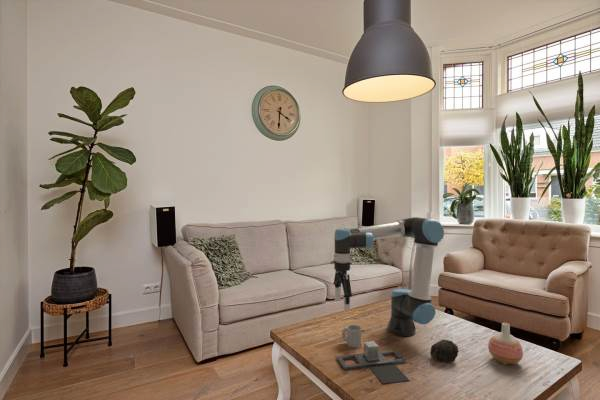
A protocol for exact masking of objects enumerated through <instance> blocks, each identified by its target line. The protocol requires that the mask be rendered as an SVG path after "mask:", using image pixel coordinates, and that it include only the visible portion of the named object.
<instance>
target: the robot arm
mask: <svg viewBox="0 0 600 400" xmlns="http://www.w3.org/2000/svg"><path fill="white" fill-rule="evenodd" d="M444 235H445V231H444V226H443V225H442V224H441V222H440V221H439V220H436V219H433V218H425V217H417V216H416V217H409V218H402V219H397V220H395V222H390V223H384V224H377V225H370V226H369V225H368V226H363V227H356V228H337V229H335V231H334V237H333V238H334V254H333V257H334V264H333V265H334V267H333V268H334V270H335V274H334V279H333V285H334V301H335V302H340V301H341V300H342V299H341V294H342V292H341V291H342V290H343V295H342V297H343V311H344V312H347V311H348V312H349V311H351V309H350V307H351V298H352V297H353V293H352V287H351V281H350V280H351V278H350V274H348V271H350V270H351V262H350V261H351V249H364V248H365V249H367V248H371V247H372V246H373V245H374V242H375V240H381V239H387V238H395V237H398V238H412V239H414V240H413V244H415V246H416V248H415V258H414V267H413V276H412V277H413V278H412V284H411V285H412V287H411V289H408V288H398V289H397V288H396V289H393V290H391V296H390V318H389V321H388V323H387V331H389V332H390V333H391V334H394V335H396V336H401V337H410V336H414V335H415V334H416V333H417V331H416V330H417V329H416V328H417V327H416V325H415V323H418V324H419V325H428V324H430V322H431V321H433V320H434V318H435V315H436V308H435V306H434V304H432V300H433V298H432V296H431V295H430V290H431V289H430V288H431V280H432V272H433V271H432V269H433V264H434V263H433V260H434V253H435V251H434V250H435V249H436V248H437V247H438V245H439V244H438V243H440V242H441V241H442V240H443V238H444ZM341 288H342V289H341Z"/></svg>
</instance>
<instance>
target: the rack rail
mask: <svg viewBox="0 0 600 400" xmlns="http://www.w3.org/2000/svg"><path fill="white" fill-rule="evenodd" d="M391 355H393V356H394V357H395V358H396V359H387V358H386V357H385V356H391ZM345 360H346V361H347V360H348V361H349V360H355V362H356V363H352V364H346V362H345ZM336 361H338V363H339V365H340V366H341V368H342V369H343V371H349V370H359V369H366V368H371V367H380V366H388V365H401V364H406V363H407V360H406V359H405V358H404V357H403V356H402V355H401V354H400V353H399V352H398V351H397V350H396V349H392V350H391V349H390V350H382V351H378V361H377V362H368V363H367V362H366V360H365V359H364V352H363V353H362V352H361V353H354V354H346V355H336Z"/></svg>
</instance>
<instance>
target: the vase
mask: <svg viewBox="0 0 600 400" xmlns="http://www.w3.org/2000/svg"><path fill="white" fill-rule="evenodd" d="M510 330H511V325H510V323H507V322H502V323H501V331H500V332H497V333H495V334H493V335H492V336H491V337H490V339H489V341H488V344H487V348H488V351H489V354H490V355H491V356H492V357H493V358H494V359H495V360H496V362H498V361H499V362H498V363H500V362H502V363H505V364H513V365H515V364H518V363H519V362H520V361H521V360H522V359H523V356H524V351H523V347H522V344H521V343H520V341H519V340H518V339H517V338H516V337H515V336H514V335H512V334H511V331H510ZM502 363H501V364H502ZM505 364H504V365H505Z"/></svg>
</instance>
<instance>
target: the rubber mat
mask: <svg viewBox="0 0 600 400" xmlns="http://www.w3.org/2000/svg"><path fill="white" fill-rule="evenodd" d="M369 368H370V370H371V371H372V373H373V374H374V375H375V376H376V378H377V379H378V380H379V382H380V383H381V384H382V385H389V384H396V383H403V382H410V379H409V378H408V377H407V376H406V375H405V374H404V373H403V371H402V370H401V369H400V368H399V367H398V366H397V364H393V365H385V366H376V367H369Z"/></svg>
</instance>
